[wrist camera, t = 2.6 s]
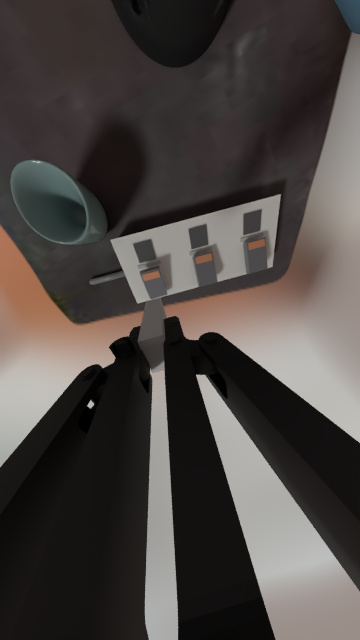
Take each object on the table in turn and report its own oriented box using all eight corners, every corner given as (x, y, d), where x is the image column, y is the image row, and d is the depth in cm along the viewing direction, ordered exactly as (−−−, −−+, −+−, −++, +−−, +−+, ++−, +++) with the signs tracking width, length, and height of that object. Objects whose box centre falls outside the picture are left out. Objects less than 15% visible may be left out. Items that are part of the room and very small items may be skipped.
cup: (110, 194, 23) (80, 165, 14) (116, 246, 27) (95, 247, 18) (58, 186, 22) (-8, 149, 13) (72, 242, 26) (28, 241, 17)
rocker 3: (242, 243, 26) (246, 241, 24) (261, 238, 26) (266, 236, 24) (246, 273, 27) (250, 273, 26) (263, 269, 27) (268, 268, 26)
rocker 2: (192, 257, 26) (193, 255, 24) (210, 252, 26) (212, 250, 24) (198, 286, 27) (199, 286, 26) (215, 282, 27) (217, 282, 26)
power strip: (73, 251, 26) (60, 253, 23) (264, 200, 26) (282, 193, 23) (105, 306, 32) (98, 314, 29) (260, 264, 32) (273, 267, 29)
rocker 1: (139, 270, 24) (139, 274, 23) (159, 265, 24) (159, 268, 23) (150, 296, 28) (150, 299, 27) (166, 291, 28) (167, 295, 27)
